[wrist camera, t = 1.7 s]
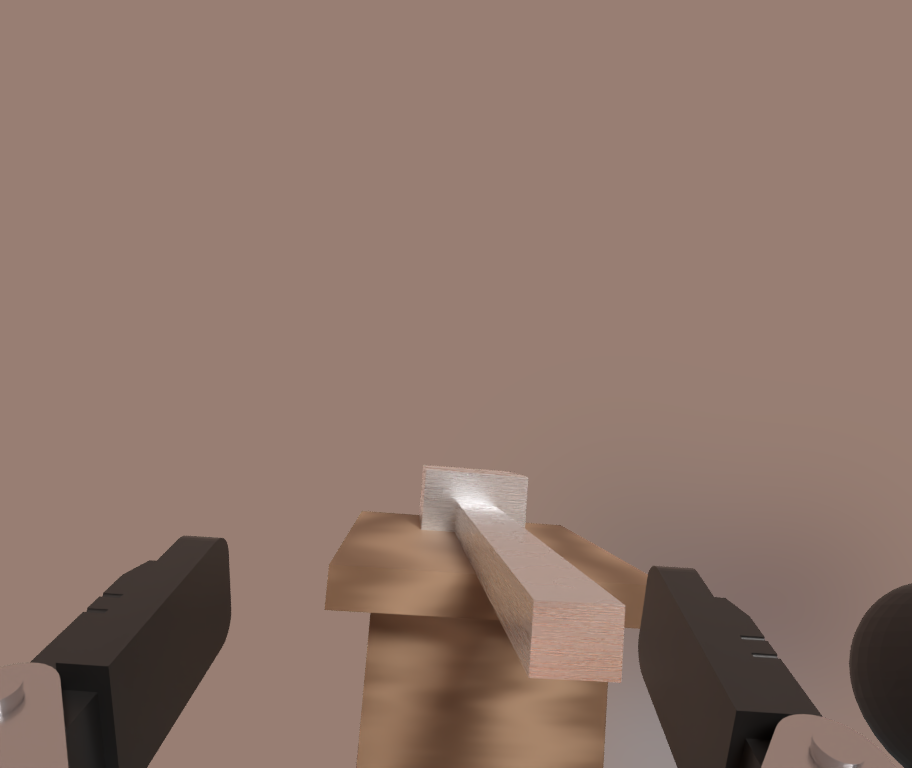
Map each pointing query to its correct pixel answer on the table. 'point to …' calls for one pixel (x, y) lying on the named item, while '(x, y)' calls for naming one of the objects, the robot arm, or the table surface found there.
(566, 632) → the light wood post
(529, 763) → the stand
